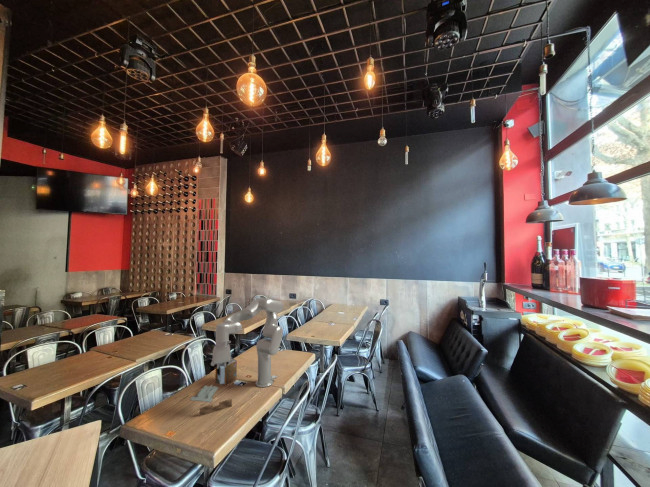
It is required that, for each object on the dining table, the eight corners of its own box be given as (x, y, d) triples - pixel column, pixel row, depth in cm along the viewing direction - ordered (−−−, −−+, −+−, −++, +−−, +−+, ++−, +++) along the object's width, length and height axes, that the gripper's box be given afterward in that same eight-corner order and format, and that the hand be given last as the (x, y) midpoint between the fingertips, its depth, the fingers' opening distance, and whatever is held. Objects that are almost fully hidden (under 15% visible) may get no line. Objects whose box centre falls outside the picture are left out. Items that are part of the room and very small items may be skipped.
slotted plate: (217, 377, 165) (218, 363, 166) (221, 377, 166) (221, 362, 167) (220, 384, 157) (221, 368, 157) (224, 383, 158) (224, 367, 158)
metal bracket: (202, 382, 181) (221, 384, 178) (203, 389, 183) (222, 391, 180) (188, 399, 168) (208, 401, 165) (189, 406, 169) (210, 408, 166)
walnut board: (231, 405, 162) (231, 398, 162) (231, 406, 161) (231, 399, 161) (199, 414, 153) (199, 407, 153) (199, 416, 152) (199, 409, 152)
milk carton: (236, 379, 197) (236, 354, 198) (225, 386, 187) (225, 359, 188) (226, 377, 201) (226, 352, 202) (215, 382, 192) (215, 356, 193)
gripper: (233, 340, 170) (232, 369, 169) (207, 344, 162) (206, 374, 161) (236, 343, 164) (235, 373, 163) (209, 347, 156) (207, 379, 154)
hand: (221, 373), depth 162 cm, fingers closed on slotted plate, 2 cm apart
